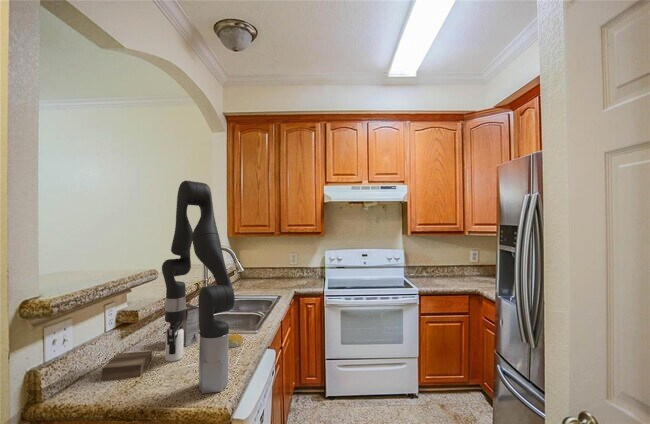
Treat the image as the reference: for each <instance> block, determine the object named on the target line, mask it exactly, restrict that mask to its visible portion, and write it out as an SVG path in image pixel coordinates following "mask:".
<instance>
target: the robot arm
mask: <svg viewBox="0 0 650 424" xmlns="http://www.w3.org/2000/svg"><path fill="white" fill-rule="evenodd" d="M213 205H214V204H213V197H212V191H211V187H210V185H208V184H207V183H205V182H199V181H191V180H183V181H182V182H181V183H180V185H179V186H178V190H177V196H176V210H175V226H174V227H175V228H174V234H173V239H172V242H171V246H170V247H171V248H170V252H171V253H172V254H173V255H175V256H178V257H179V258H169V259H168V258H167V259H166V260H164V262H163V263H162V266H161V273H162V276H163V279H164V283H165V288H166V289H165V303H164V306H165V307H164V322H166V323H169V325H168V328H169V329H168V328H167V329H168V330H166V332H167V345H169V354H175V352H176V338H177V337H178V331H177V335H176V336H175V332H176V330H179V329H180V328H181V326H182V321H183V320H184V319H185V318H186V304H187V300H186V290H187V289H186V283H185V282H184V281H179V280H176V278H175V277H180V276H187V274H189V273H190V271H191V268H192V263H191V261H192V260H191V249H192V248H191V247H192V245H193V250H194V255H195V256H196V258H197V259H198V260H199V261H200V262H201V263H202V265H204V266H205V267H206V268H207V269H208V270H209V271H210V273H211V275H212V276H213V278H214V281H215V283H216V284H214V285H207V286H203V287H202V288H201V289H200V290H199V292H198V298H197V300H198V306H197V307H199V320H198V329H199V349H198V350H199V351H198V352H199V354H198V390H199V391H200V392H201V394H210V393H211V394H212V393H219V392H222V391H223V390H224V389H226V387H227V386H228V383H229V347H228V345H229V336H230V334H229V332H230V325H229V323H228V322H226V321H223V320H219V319H215V318H214V317H215V316H214V315H215V314H220V313H224V312H225V313H226V312H228V311H230V310H232V309H234V307H235V301H236V299H235V298H236V297H235V291H234V288H233V285H232V282H231V279H230V275H229V272H228V269H227V265H226V263H225V259H224V254H223V250H222V244H221V239H220V236H219V235H220V234H219V231H218V228H217V223H216V218H215V212H214V211H215V210H214V206H213ZM189 206H198V207H199V211H200V217H199V220H198V222H197V224H196V226H194V227H195V228H194V229H193V228H192V225H191V223H190V221H189V217H188V211H187V210H188V207H189ZM171 339H173V341H171Z"/></svg>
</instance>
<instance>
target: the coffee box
mask: <svg viewBox="0 0 650 424" xmlns="http://www.w3.org/2000/svg"><path fill="white" fill-rule="evenodd" d="M182 327H183V330H184V344H183V347H188V346H191V345H195V344H197V343H198V342H199V306H196V305H193V304H189V303H186V318H185V319H184V320H183V321H182Z"/></svg>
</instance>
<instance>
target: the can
mask: <svg viewBox="0 0 650 424" xmlns="http://www.w3.org/2000/svg"><path fill="white" fill-rule="evenodd" d="M166 329H167V330H168V329H169V327H167V328H166ZM167 330H166V332H165V349H164V350H165V353H164V354H165V355H164V356H165V361H166V362H170V363H172V362H178V361H180V360H181V359H183V357H184V346H183V344H184V330H183V327H182V326H181V328H180V329H179V330H176V332H175V336H176V335H177V331H178V337H177V338H176V352H175V354H169V345H167ZM171 341H173V339H171Z"/></svg>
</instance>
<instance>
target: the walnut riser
mask: <svg viewBox="0 0 650 424" xmlns="http://www.w3.org/2000/svg"><path fill="white" fill-rule="evenodd" d="M152 361H153V350H149V351H138V352H137V351H136V352H124V353H117V354H116V355H115V356H113V358H111V360H109V361H108V363H106V364H105V365H104V366H103V367H102V371H101V380H102V381H103V380H113V379H114V380H116V379H126V378H135V377H136V378H138V377H141V376H142V375H143V374H144V372H145V371H147V370H146V369H148V367H149V366H150V364H151V363H152Z"/></svg>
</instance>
